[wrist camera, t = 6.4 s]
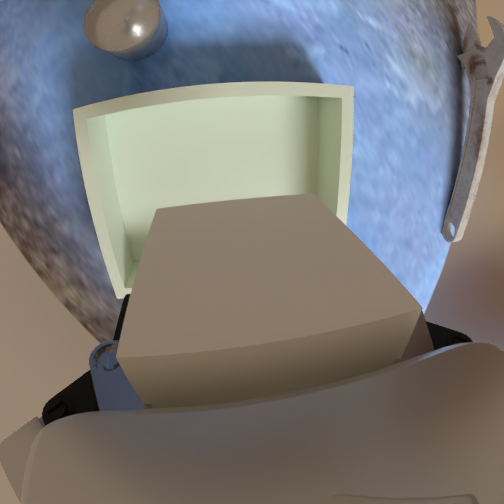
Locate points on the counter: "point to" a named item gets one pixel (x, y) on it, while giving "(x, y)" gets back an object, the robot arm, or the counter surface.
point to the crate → (208, 155)
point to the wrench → (475, 121)
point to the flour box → (257, 303)
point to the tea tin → (126, 27)
